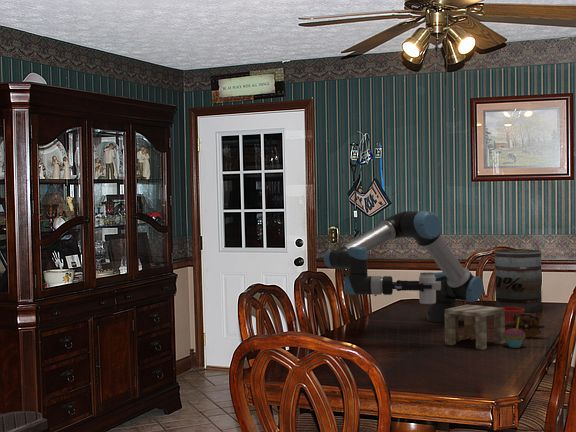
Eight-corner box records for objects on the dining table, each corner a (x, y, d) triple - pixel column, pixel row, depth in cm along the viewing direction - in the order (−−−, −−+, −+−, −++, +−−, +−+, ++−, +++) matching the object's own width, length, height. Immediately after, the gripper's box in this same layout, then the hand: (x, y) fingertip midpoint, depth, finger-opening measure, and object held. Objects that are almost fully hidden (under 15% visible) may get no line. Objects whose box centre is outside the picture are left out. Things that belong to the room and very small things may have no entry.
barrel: (488, 307, 408) (487, 250, 408) (529, 305, 412) (528, 248, 411) (507, 314, 386) (506, 253, 385) (549, 312, 390) (549, 251, 389)
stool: (445, 344, 314) (444, 309, 314) (467, 338, 327) (467, 304, 326) (482, 349, 303) (482, 313, 302) (504, 342, 315) (504, 308, 314)
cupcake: (526, 345, 310) (525, 314, 309) (525, 349, 302) (524, 318, 301) (503, 344, 312) (503, 314, 312) (502, 348, 304) (501, 317, 304)
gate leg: (457, 342, 315) (457, 313, 315) (450, 341, 318) (450, 312, 318) (476, 338, 324) (476, 309, 323) (469, 337, 326) (469, 308, 326)
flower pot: (525, 332, 335) (525, 310, 335) (499, 332, 338) (498, 310, 337) (523, 328, 346) (523, 306, 345) (497, 328, 348) (497, 306, 348)
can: (417, 302, 317) (417, 272, 317) (433, 301, 317) (433, 272, 317) (421, 304, 310) (420, 274, 310) (437, 304, 311) (437, 273, 310)
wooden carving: (503, 337, 326) (503, 313, 326) (504, 335, 330) (504, 312, 330) (545, 339, 320) (545, 314, 320) (545, 337, 325) (545, 313, 324)
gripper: (384, 291, 327) (441, 292, 322) (380, 297, 309) (440, 298, 304) (384, 273, 327) (441, 273, 322) (379, 278, 309) (440, 278, 304)
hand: (440, 285), depth 313 cm, fingers closed on can, 6 cm apart
